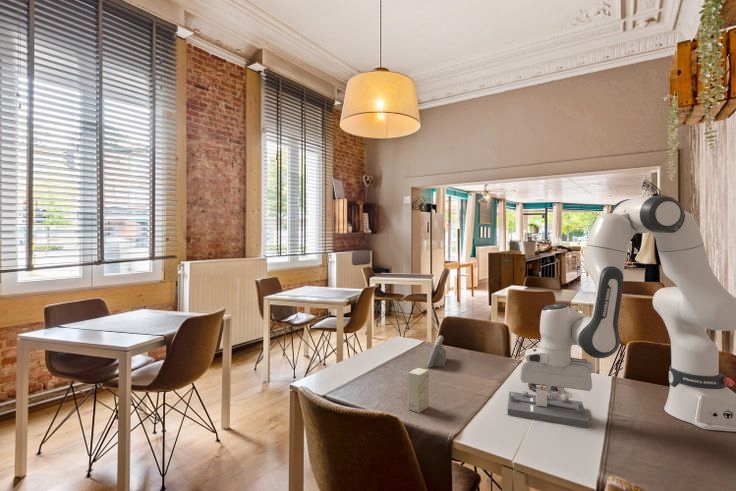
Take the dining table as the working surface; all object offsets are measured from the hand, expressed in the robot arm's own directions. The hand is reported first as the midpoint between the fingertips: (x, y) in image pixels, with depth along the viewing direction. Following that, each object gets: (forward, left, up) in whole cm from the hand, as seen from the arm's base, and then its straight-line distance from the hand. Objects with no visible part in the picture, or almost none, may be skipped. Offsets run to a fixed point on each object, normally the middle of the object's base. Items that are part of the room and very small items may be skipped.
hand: (554, 399), depth 120 cm
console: (+3, 0, -4) cm, 5 cm away
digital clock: (+45, -33, -4) cm, 56 cm away
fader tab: (+4, 0, -2) cm, 4 cm away
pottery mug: (+3, -19, -4) cm, 20 cm away
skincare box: (+41, +12, -4) cm, 43 cm away
